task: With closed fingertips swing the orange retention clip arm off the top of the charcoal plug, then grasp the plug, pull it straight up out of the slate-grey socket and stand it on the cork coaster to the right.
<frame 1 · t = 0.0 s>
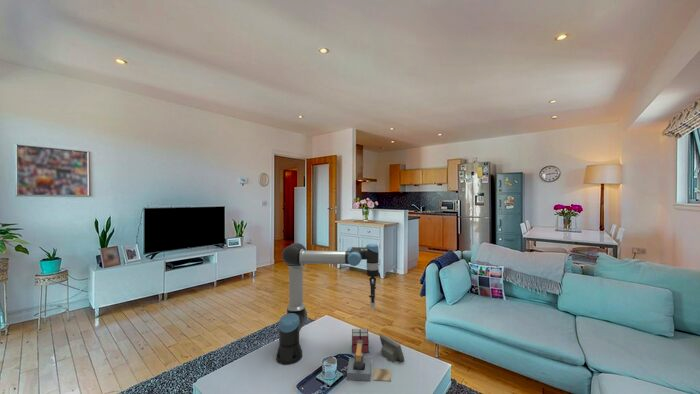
hand: (373, 303, 169), 28 cm above the table, fingers open, 13 cm apart
digital clock: (391, 356, 161), on the table
clip: (359, 349, 146), point 12 cm above the table, hinge at 0.0°
socket: (359, 372, 145), on the table
plug: (359, 372, 145), resting in socket
puzzle cube: (360, 348, 169), on the table
coaster: (381, 375, 143), on the table
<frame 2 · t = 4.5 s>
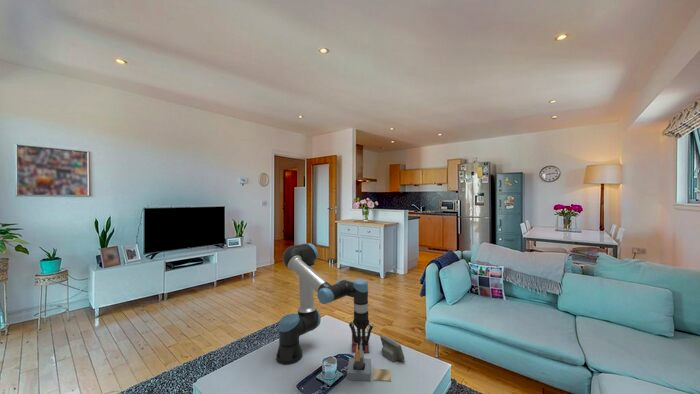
hand: (361, 356, 141), 11 cm above the table, fingers closed
clip: (358, 349, 146), point 12 cm above the table, hinge at -1.5°, touching gripper
everything else where it was.
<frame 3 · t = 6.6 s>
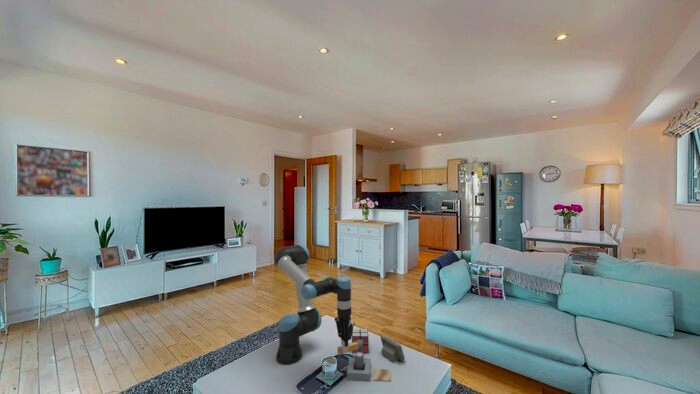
hand: (344, 351, 145), 12 cm above the table, fingers closed
clip: (350, 347, 149), point 12 cm above the table, hinge at -55.9°, touching gripper
everything else where it was.
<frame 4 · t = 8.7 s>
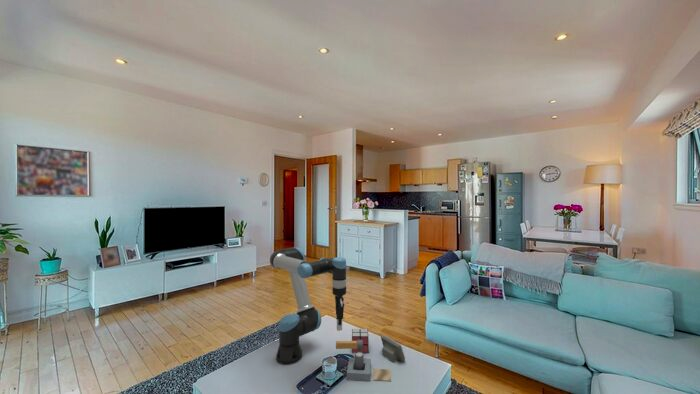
hand: (339, 329, 148), 22 cm above the table, fingers closed
clip: (349, 344, 151), point 12 cm above the table, hinge at -83.1°
everything else where it was.
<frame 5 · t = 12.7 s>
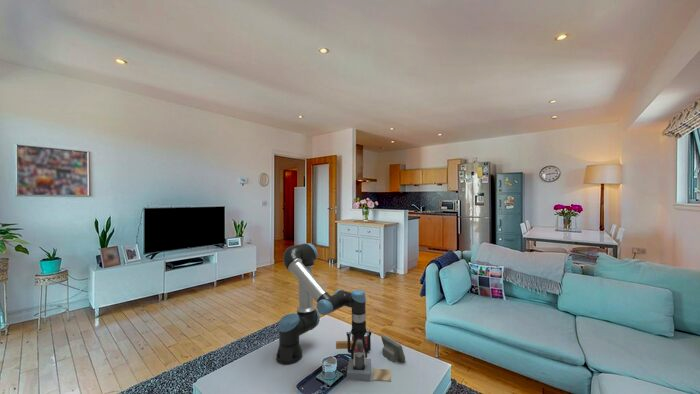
hand: (359, 364, 145), 5 cm above the table, fingers closed on plug, 5 cm apart
plug: (359, 372, 145), resting in socket, touching gripper
everything else where it was.
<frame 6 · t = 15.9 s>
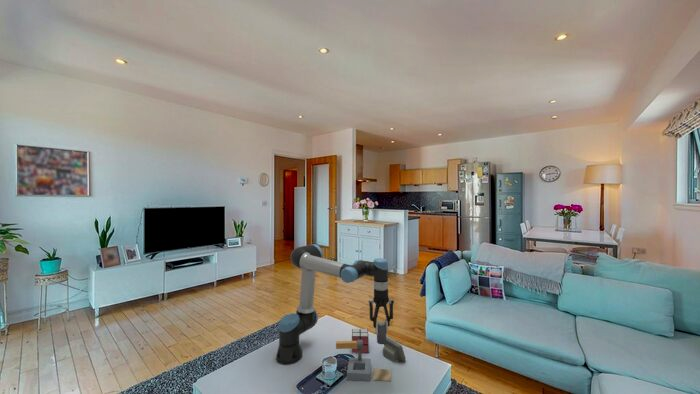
hand: (381, 332, 143), 22 cm above the table, fingers closed on plug, 5 cm apart
plug: (381, 341, 143), point 18 cm above the table, touching gripper
everything else where it was.
when the fingers open (7 cm above the table, at t = 18.9 s): plug drops 1 cm, resting on coaster.
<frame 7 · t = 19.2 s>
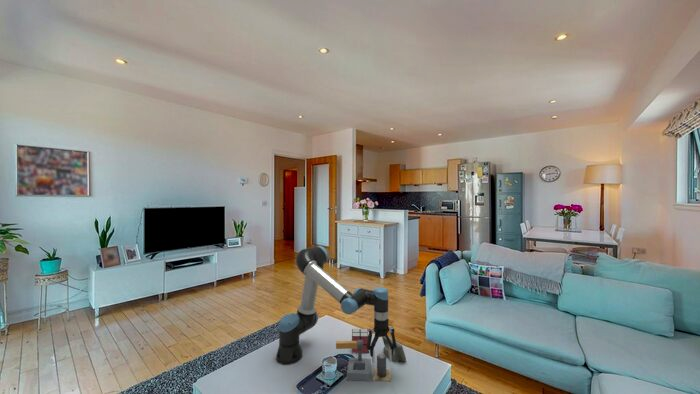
hand: (381, 361, 143), 7 cm above the table, fingers open, 8 cm apart
plug: (381, 374, 143), point 1 cm above the table, touching coaster
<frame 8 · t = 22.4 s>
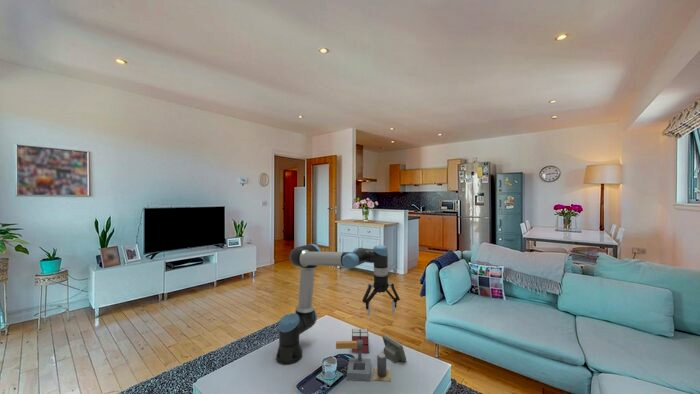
hand: (381, 314, 147), 31 cm above the table, fingers open, 13 cm apart
at the end: plug inside the target area on the coaster (0.0 cm from its centre), point 0.5 cm above the coaster's base; plug tilted 1°; clip at -83° (first picture: +0°) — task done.
